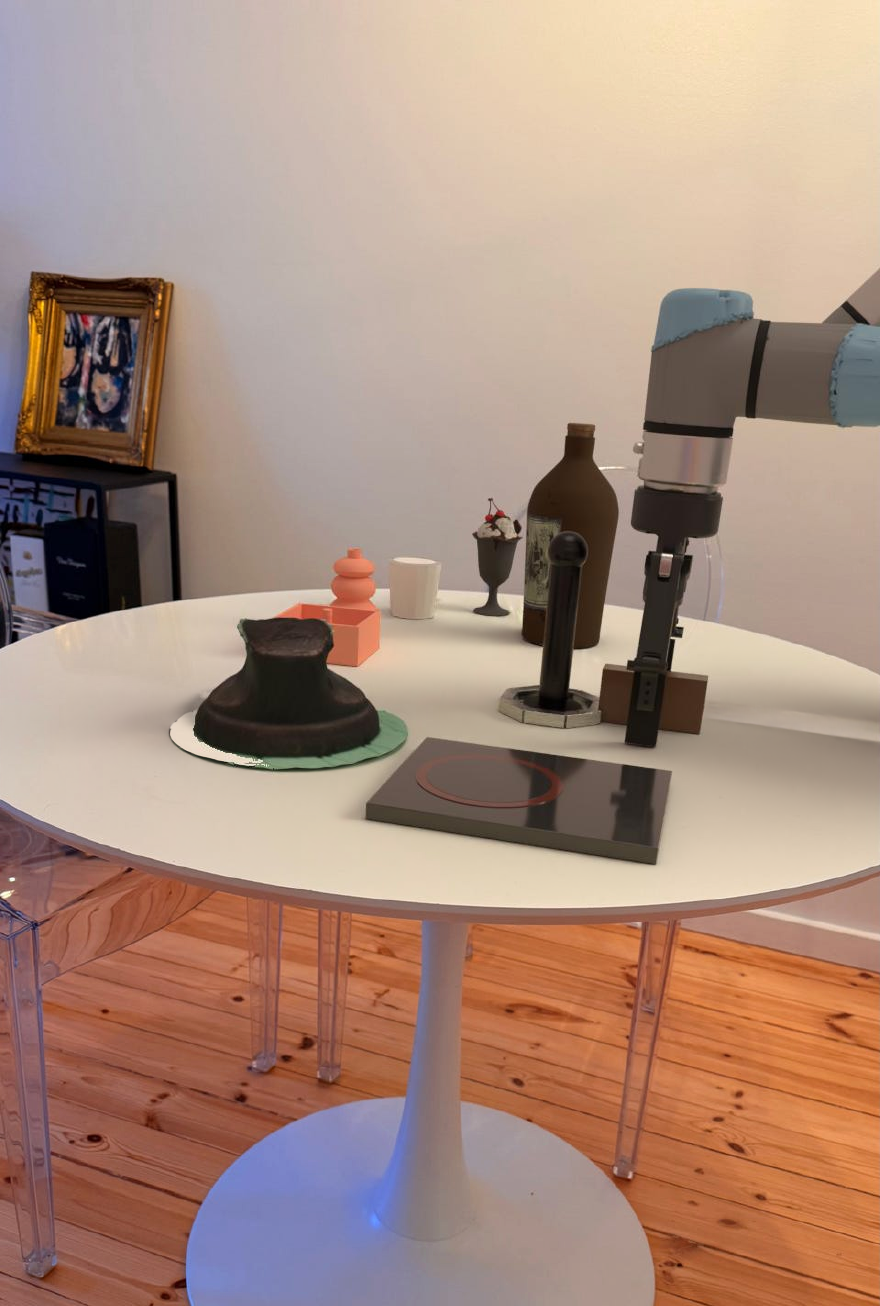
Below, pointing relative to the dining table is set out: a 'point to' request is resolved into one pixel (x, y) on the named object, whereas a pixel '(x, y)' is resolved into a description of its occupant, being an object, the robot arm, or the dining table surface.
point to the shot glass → (413, 586)
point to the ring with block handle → (616, 702)
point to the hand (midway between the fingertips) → (646, 722)
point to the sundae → (496, 556)
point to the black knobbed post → (560, 623)
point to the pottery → (348, 611)
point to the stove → (528, 799)
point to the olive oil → (580, 506)
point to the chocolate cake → (293, 703)
